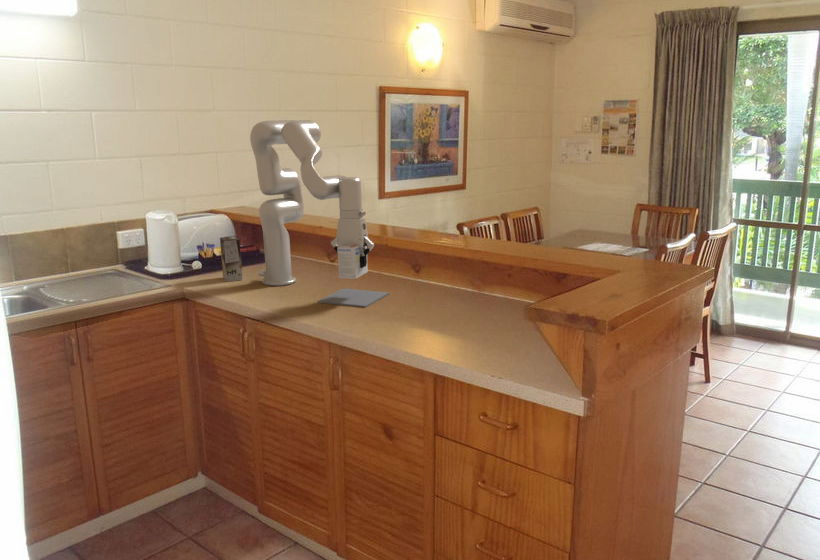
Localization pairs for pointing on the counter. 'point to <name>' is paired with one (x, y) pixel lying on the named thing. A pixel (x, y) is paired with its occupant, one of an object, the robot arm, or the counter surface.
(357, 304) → the mat
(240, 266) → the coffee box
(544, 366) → the counter surface
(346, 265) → the light bulb box
